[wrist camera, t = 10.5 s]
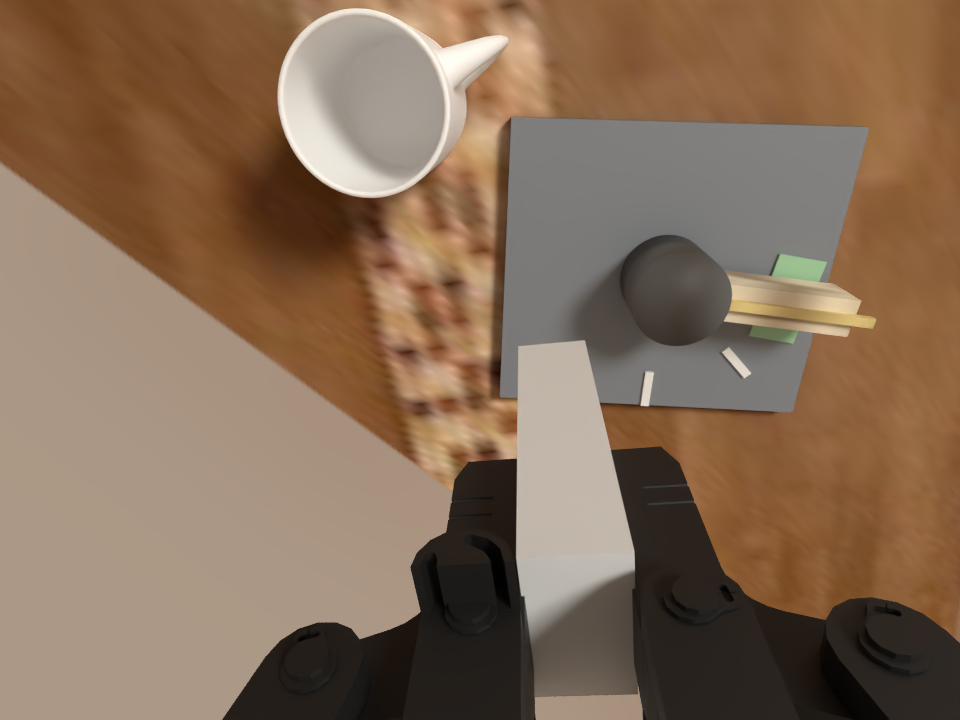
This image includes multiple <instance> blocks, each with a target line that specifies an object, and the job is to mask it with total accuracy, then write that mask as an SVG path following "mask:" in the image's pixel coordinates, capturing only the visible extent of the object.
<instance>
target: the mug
mask: <svg viewBox="0 0 960 720" xmlns="http://www.w3.org/2000/svg"><path fill="white" fill-rule="evenodd" d="M507 45H508V38H507V37H505V36H502V35H496V36H488V37H483V38H479V39H475V40H472V41H468V42H464V43H461V44H457V45H453V46H449V47H445V48H442V47H441V46H440V45H439V44H437V43H436V42H435V41H434V40H432V39H431V38H429V37H428V36H426V35H425V34H423V33H421V32H419V31H418V30H416V29H414V28H412V27H411V26H409V25H407V24H405V23H404V22H402V21H400V20H398V19H396V18H394V17H392V16H390V15H388V14H385V13H382V12H379V11H375V10H369V9H357V8H352V9H345V10H339V11H336V12H332V13H329V14H327V15H325V16H323V17H321V18H319V19H317V20H316V21H314V22H313V23H312V24H310V25H309V26H308V27H307V28H306V29H304V30H303V31H302V32H301V33H300V35H299V36H298V37H297V38H296V40H295V41H294V42H293V44H292V45H291V47H290V49H289V51H288V52H287V54H286V57H285V59H284V62H283V64H282V68H281V72H280V76H279V83H278V109H279V115H280V120H281V124H282V127H283V130H284V133H285V136H286V138H287V140H288V142H289V144H290V146H291V148H292V150H293V151H294V153H295V155H296V156H297V158H298V159H299V160H300V162H301V163H302V164H303V165H304V166H305V168H306V169H307V170H308V171H309V172H310V173H311V174H312V175H314V176H315V177H316V178H317V179H319V180H320V181H321V182H322V183H324V184H326V185H327V186H329V187H331V188H333V189H335V190H337V191H339V192H341V193H344V194H348V195H351V196H356V197H361V198H380V197H386V196H390V195H395V194H397V193H400V192H402V191H404V190H406V189H408V188H410V187H411V186H413V185H414V184H416V183H417V182H418V181H420V180H421V179H422V178H423V177H424V176H426V175H427V174H428V173H429V172H430V171H431V170H433V169H434V168H435V167H436V166H437V165H438V164H439V163H441V162H442V161H443V160H444V159H445V158H446V157H447V156H448V155H449V154H450V152H451V151H452V150H453V148H454V147H455V145H456V144H457V142H458V140H459V138H460V136H461V133H462V131H463V127H464V124H465V119H466V94H465V89H466V88H467V87H468V86H469V85H470V84H471V83H472V82H473V81H474V80H475V79H476V78H477V77H479V76H480V75H481V74H482V73H483V72H484V71H485V70H486V69H487V68H488V67H489V66H490V65H491V64H492V63H493V62H494V61H495V60H496V58H497V57H498V56H499V55H500V54H501V53H502V52H503V50H504V49H505V48H506V46H507Z"/></svg>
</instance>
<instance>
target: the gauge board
mask: <svg viewBox="0 0 960 720" xmlns="http://www.w3.org/2000/svg"><path fill="white" fill-rule="evenodd" d="M869 128H870V127H861V126H829V125H792V124H756V123H719V122H683V121H646V120H610V119H573V118H537V117H511V136H510V160H509V184H508V208H507V233H506V257H505V281H504V306H503V330H502V354H501V379H500V397H502V398H518V346H527V345H538V344H549V343H560V342H571V341H582V340H585V343H586V347H587V352H588V356H589V360H590V364H591V369H592V373H593V377H594V381H595V386H596V390H597V394H598V399H599V403H619V404H638V405H641V406H649V405H658V406H677V407H696V408H716V409H735V410H755V411H774V412H792V411H793V408H794V404H795V400H796V397H797V393H798V389H799V386H800V382H801V378H802V375H803V371H804V367H805V363H806V360H807V356H808V352H809V349H810V345H811V341H812V338H813V334H814V333H813V332H805V331H797V330H789V329H781V328H773V327H765V326H757V325H749V324H741V323H733V322H725V321H723V322H722V324H721V325H720V326H719V327H718V328H717V330H715V331H714V332H713V333H712V334H711V335H709V336H708V337H706V338H705V339H703V340H701V341H698V342H696V343H693V344H690V345H684V346H668V345H663V344H660V343H657V342H655V341H653V340H651V339H650V338H648V337H647V336H646V335H645V334H644V333H643V332H642V331H641V330H640V329H639V327H638V326H637V324H636V322H635V320H634V318H633V316H632V314H631V312H630V310H629V308H628V305H627V303H626V301H625V299H624V297H623V295H622V292H621V287H620V275H621V270H622V267H623V265H624V262H625V261H626V259H627V257H628V256H629V254H630V253H631V252H632V251H633V250H634V249H635V248H636V247H637V246H638V245H640V244H641V243H643V242H644V241H646V240H648V239H650V238H653V237H656V236H661V235H677V236H681V237H684V238H687V239H689V240H691V241H692V242H694V243H695V244H696V245H697V246H699V247H700V248H701V249H702V250H703V251H704V252H705V253H706V254H708V255H709V256H710V257H711V258H712V259H713V260H714V261H715V262H717V263H718V264H719V265H720V266H721V267H722V268H723V270H727V271H735V272H743V273H751V274H759V275H767V276H775V277H783V278H791V279H799V280H807V281H815V282H823V283H827V282H828V279H829V275H830V271H831V268H832V264H833V260H834V257H835V253H836V249H837V246H838V242H839V238H840V235H841V231H842V227H843V224H844V220H845V216H846V213H847V209H848V205H849V201H850V198H851V194H852V190H853V187H854V183H855V179H856V176H857V172H858V168H859V165H860V161H861V157H862V154H863V150H864V146H865V143H866V139H867V135H868V132H869Z"/></svg>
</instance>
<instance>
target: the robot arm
mask: <svg viewBox="0 0 960 720" xmlns="http://www.w3.org/2000/svg"><path fill="white" fill-rule="evenodd" d="M411 572H412V576H413V580H414V584H415V589H416V593H417V597H418V601H419V606H420V610H421V612H420V613H419V614H418V615H417V616H415V617H413V618H412V619H411V620H409V621H408V622H406V623H404V624H402V625H400V626H397V627H395V628H393V629H390V630H387V631H384V632H381V633H378V634H375V635H372V636H369V637H366V638H363V639H359V638H358V637H357V635H356V634H355V633H354V632H353V630H352V629H351V628H348V627H346V626H344V625H341V624H339V623H315V624H312V625H309V626H306V627H303V628H300V629H298V630H296V631H295V632H293V633H292V634H290V635H288V636H287V637H285V638H284V639H282V640H281V641H280V642H279V643H278V644H277V645H276V646H275V647H274V648H273V649H272V650H271V651H270V653H269V654H268V655H267V656H266V657H265V659H264V660H263V661H262V663H261V664H260V666H259V667H258V669H257V670H256V672H255V673H254V674H253V676H252V677H251V679H250V680H249V682H248V683H247V685H246V686H245V687H244V689H243V690H242V692H241V693H240V695H239V696H238V698H237V699H236V701H235V702H234V703H233V705H232V706H231V708H230V709H229V711H228V712H227V714H226V715H225V717H224V718H223V720H536V718H535V697H548V696H585V695H586V696H588V695H625V694H626V695H627V694H638V687H639V692H640V698H641V703H642V708H643V720H960V643H959V642H958V641H957V640H956V639H955V638H953V637H952V636H951V635H950V634H949V633H948V632H947V631H946V630H945V629H943V628H942V627H940V626H939V625H938V624H936V623H935V622H934V621H932V620H931V619H929V618H928V617H927V616H925V615H924V614H922V613H920V612H918V611H915V610H913V609H911V608H909V607H906V606H904V605H902V604H899V603H897V602H892V601H887V600H882V599H877V598H872V597H871V598H857V599H849V600H847V601H845V602H843V603H841V604H839V605H837V606H835V607H833V609H832V610H831V612H830V614H829V615H828V617H827V619H826V620H822V619H818V618H813V617H808V616H804V615H799V614H794V613H790V612H785V611H782V610H778V609H775V608H772V607H768V606H766V605H764V604H762V603H760V602H758V601H756V600H753V599H751V598H750V597H748V596H747V595H746V594H745V593H744V592H743V590H742V589H741V588H740V586H739V585H738V584H737V583H736V582H735V581H733V580H732V579H731V578H729V577H728V576H726V575H725V573H724V571H723V570H722V568H721V566H720V563H719V561H718V558H717V556H716V553H715V551H714V548H713V546H712V543H711V541H710V538H709V536H708V533H707V531H706V528H705V526H704V524H703V521H702V519H701V516H700V514H699V511H698V509H697V506H696V504H694V499H693V496H692V494H691V491H690V489H689V487H688V486H687V481H686V479H685V476H684V474H683V471H682V469H681V466H680V464H679V462H678V461H676V460H675V459H674V458H673V457H672V456H671V455H670V454H668V453H667V452H666V451H665V450H664V449H663V448H661V447H649V448H635V449H621V450H610V445H609V441H608V437H607V433H606V428H605V424H604V420H603V416H602V411H601V407H600V403H599V399H598V394H597V390H596V386H595V381H594V377H593V373H592V369H591V364H590V360H589V356H588V352H587V347H586V343H585V340H582V341H571V342H560V343H549V344H538V345H527V346H518V425H517V459H504V460H490V461H476V462H468V463H467V465H466V466H465V467H464V468H463V470H462V471H461V472H460V474H459V475H458V476H457V478H456V479H455V482H454V488H453V494H452V503H451V507H450V513H449V520H448V525H447V531H446V533H444V534H442V535H440V536H438V537H436V538H434V539H432V540H430V541H429V542H428V543H427V544H426V545H425V546H424V547H423V548H422V549H421V550H419V551H418V552H417V554H416V556H415V558H414V561H413V563H412V565H411ZM637 682H638V683H637ZM534 695H535V696H534Z"/></svg>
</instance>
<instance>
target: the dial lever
mask: <svg viewBox="0 0 960 720" xmlns="http://www.w3.org/2000/svg"><path fill="white" fill-rule="evenodd" d="M620 287H621V292H622V295H623V297H624V299H625V301H626V303H627V305H628V308H629V310H630V312H631V314H632V316H633V318H634V320H635V322H636V324H637V326H638V327H639V329H640V330H641V331H642V332H643V333H644V334H645V335H646V336H647V337H648V338H650V339H651V340H653V341H655V342H657V343H660V344H663V345H668V346H684V345H690V344H693V343H696V342H698V341H701V340H703V339H705V338H706V337H708V336H709V335H711V334H712V333H713V332H714V331H715V330H717V328H718V327H719V326H720V325H721V324H722V322H723V321H725V322H733V323H741V324H749V325H757V326H765V327H773V328H781V329H789V330H797V331H805V332H813V333H821V334H829V335H837V336H844V337H847V336H848V333H849V331H850V328H851V326H857V327H865V328H873V326H874V324H875V322H876V319H875V318H873V317H871V316H863V315H856V313H857V311H858V308H859V306H860V303H861V300H859V299H857V298H856V297H854V296H853V295H851V294H849V293H848V292H846V291H844V290H843V289H841V288H840V287H838V286H836V285H835V284H831V283H823V282H815V281H807V280H799V279H791V278H783V277H775V276H767V275H759V274H751V273H743V272H735V271H727V270H723V268H722V267H721V266H720V265H719V264H718V263H717V262H715V261H714V260H713V259H712V258H711V257H710V256H709V255H708V254H706V253H705V252H704V251H703V250H702V249H701V248H700V247H699V246H697V245H696V244H695V243H694V242H692V241H691V240H689V239H687V238H684V237H681V236H677V235H661V236H656V237H653V238H650V239H648V240H646V241H644V242H643V243H641V244H640V245H638V246H637V247H636V248H635V249H634V250H633V251H632V252H631V253H630V254H629V256H628V257H627V259H626V261H625V262H624V265H623V267H622V270H621V275H620Z"/></svg>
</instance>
